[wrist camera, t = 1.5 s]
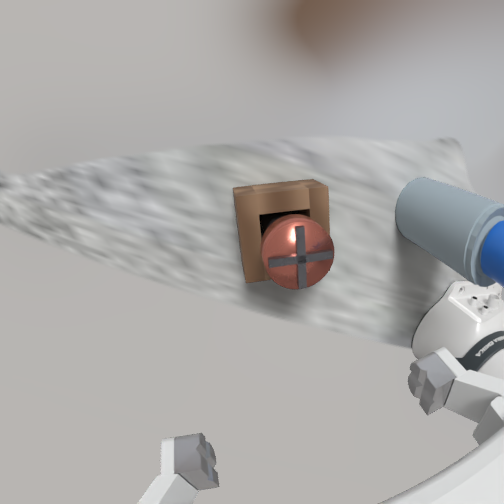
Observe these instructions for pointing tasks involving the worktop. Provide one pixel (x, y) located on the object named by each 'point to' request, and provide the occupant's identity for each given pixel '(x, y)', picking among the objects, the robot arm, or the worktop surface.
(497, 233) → the spray bottle
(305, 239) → the copper cross-head bolt
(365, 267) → the worktop surface
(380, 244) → the worktop surface
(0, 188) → the worktop surface
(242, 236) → the block
